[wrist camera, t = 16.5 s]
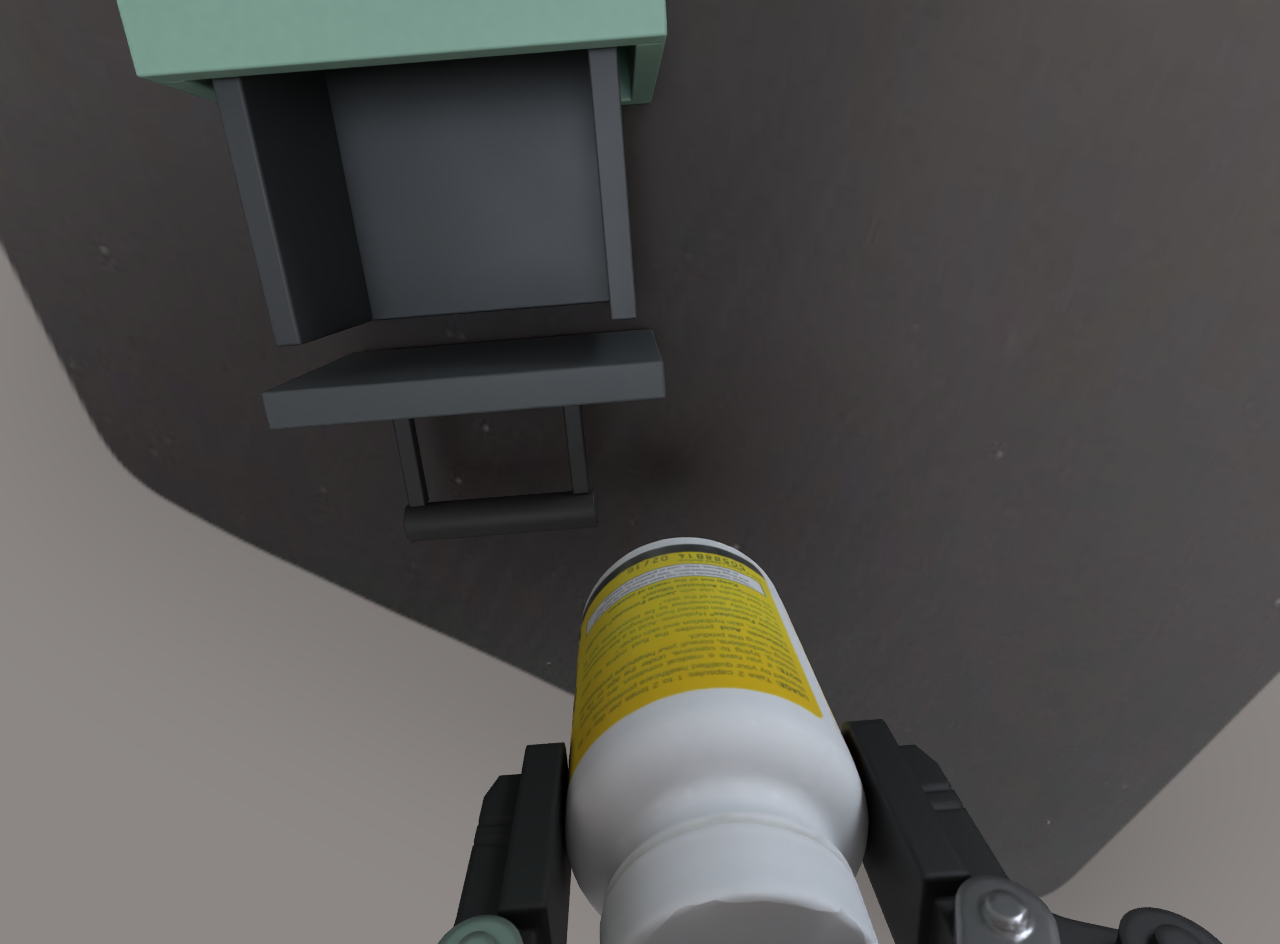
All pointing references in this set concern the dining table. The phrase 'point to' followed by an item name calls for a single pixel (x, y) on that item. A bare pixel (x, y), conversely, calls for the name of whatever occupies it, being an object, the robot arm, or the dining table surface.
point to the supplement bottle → (708, 762)
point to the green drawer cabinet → (381, 36)
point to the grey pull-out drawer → (445, 249)
